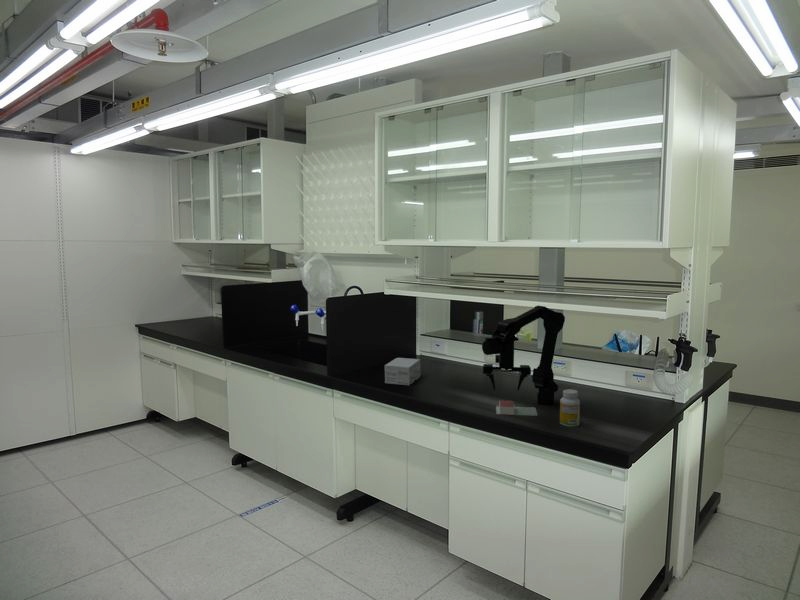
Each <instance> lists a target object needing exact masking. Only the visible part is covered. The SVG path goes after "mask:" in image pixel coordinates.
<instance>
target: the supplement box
mask: <svg viewBox="0 0 800 600" xmlns="http://www.w3.org/2000/svg"><path fill="white" fill-rule="evenodd" d="M419 378H421V359H419V358H408V357H407V358H405V357H396V358H394V359H393V360H391V361H390V362H388V363H386V364H385V365H384V384H391V385H403V386H411V385H412V384H413V383H414V382H415V380H416V381H417V380H418V379H419ZM410 384H411V385H410Z"/></svg>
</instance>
